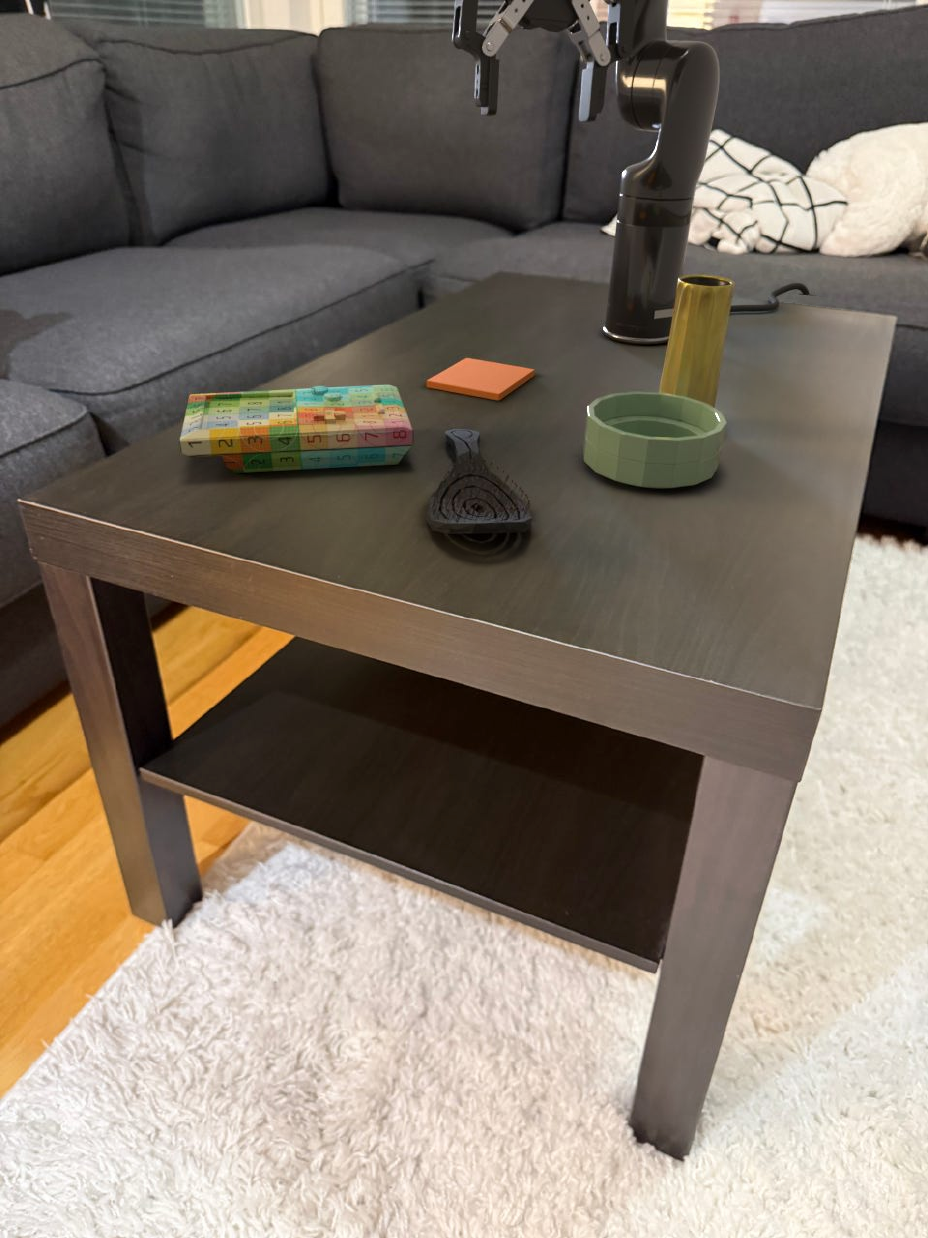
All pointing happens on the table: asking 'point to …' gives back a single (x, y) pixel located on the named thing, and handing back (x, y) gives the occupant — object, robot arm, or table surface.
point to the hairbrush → (475, 494)
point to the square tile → (481, 378)
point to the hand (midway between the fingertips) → (538, 118)
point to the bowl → (653, 439)
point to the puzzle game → (298, 428)
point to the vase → (697, 337)
